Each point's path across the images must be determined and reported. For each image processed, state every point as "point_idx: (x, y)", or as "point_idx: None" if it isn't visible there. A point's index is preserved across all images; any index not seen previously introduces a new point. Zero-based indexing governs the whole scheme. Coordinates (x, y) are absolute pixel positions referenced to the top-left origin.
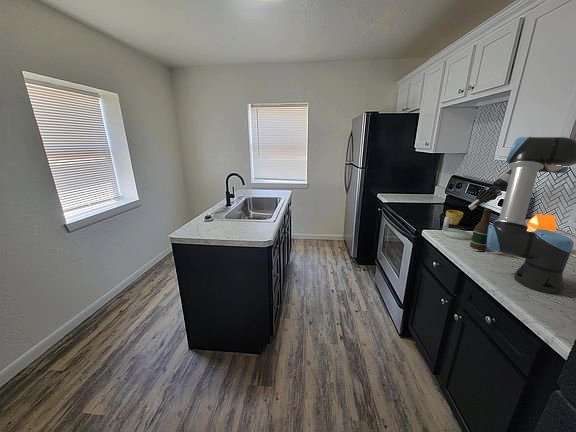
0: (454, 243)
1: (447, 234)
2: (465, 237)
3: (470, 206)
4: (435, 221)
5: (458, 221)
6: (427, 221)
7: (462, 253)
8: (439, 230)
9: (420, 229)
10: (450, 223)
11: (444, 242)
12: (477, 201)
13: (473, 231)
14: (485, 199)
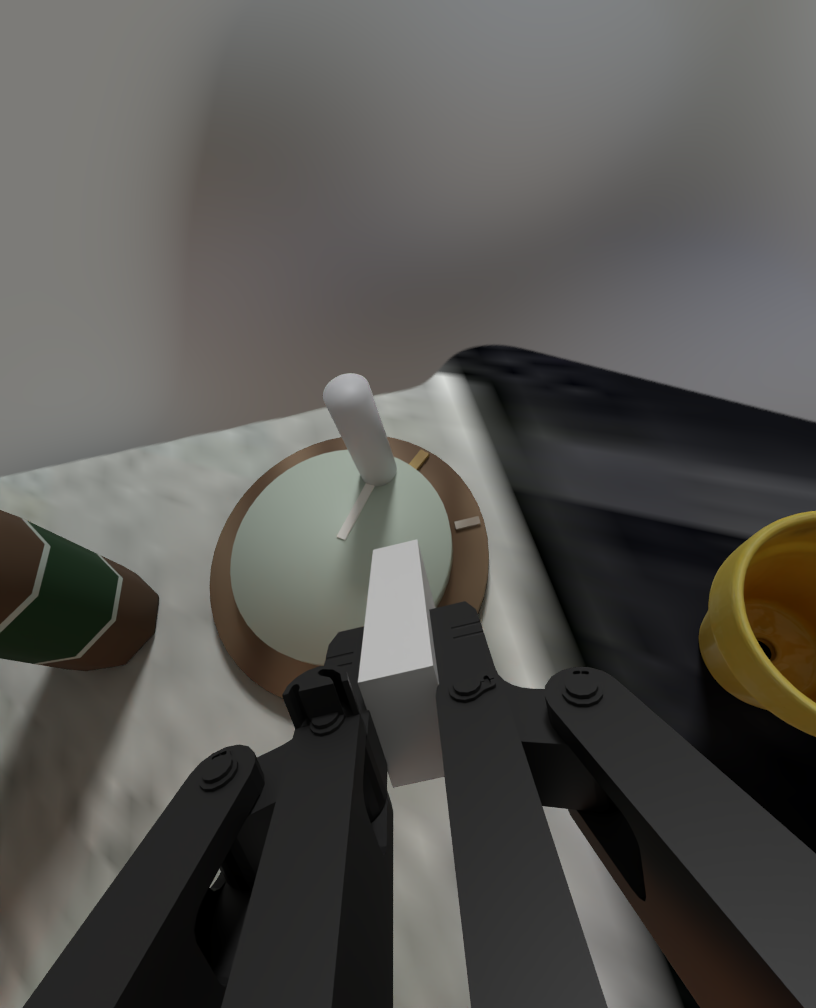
0: (218, 509)
1: (292, 469)
2: (232, 575)
3: (372, 556)
4: (789, 508)
5: (740, 687)
6: (736, 437)
7: (75, 506)
8: (421, 455)
9: (460, 363)
10: (708, 610)
11: (231, 455)
12: (362, 655)
13: (30, 522)
14: (161, 819)
